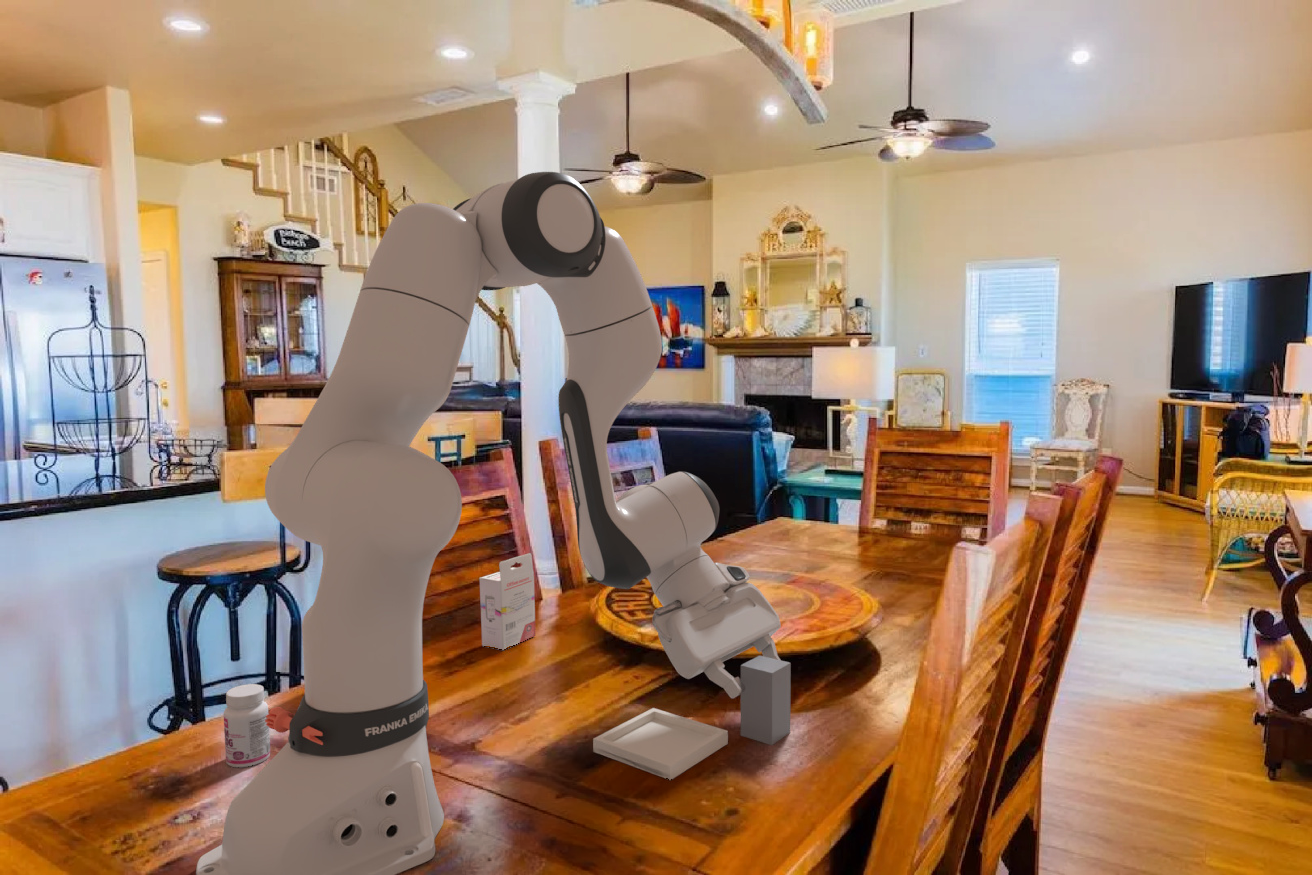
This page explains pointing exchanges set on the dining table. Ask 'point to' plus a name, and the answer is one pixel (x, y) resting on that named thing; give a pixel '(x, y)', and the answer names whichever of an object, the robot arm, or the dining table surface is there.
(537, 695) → the dining table surface
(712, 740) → the tray
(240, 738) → the pill bottle
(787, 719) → the grey block
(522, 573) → the ink cartridge box
